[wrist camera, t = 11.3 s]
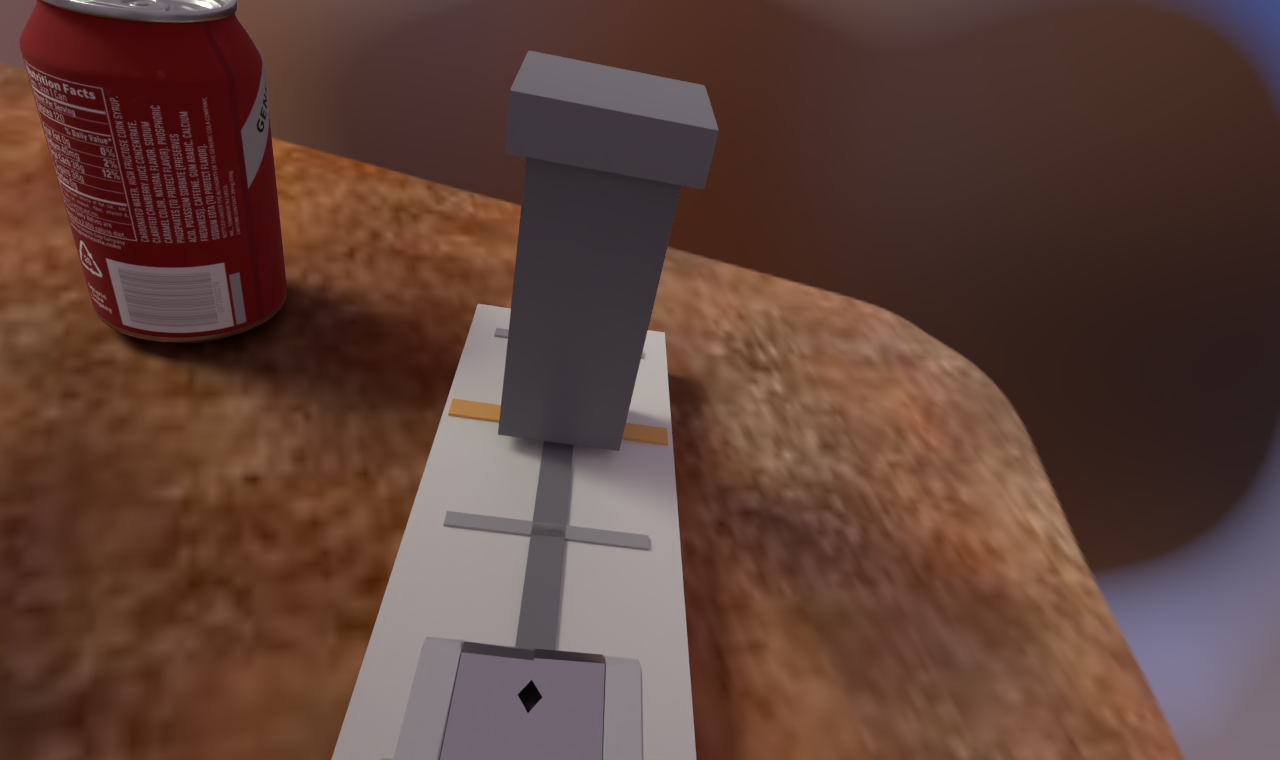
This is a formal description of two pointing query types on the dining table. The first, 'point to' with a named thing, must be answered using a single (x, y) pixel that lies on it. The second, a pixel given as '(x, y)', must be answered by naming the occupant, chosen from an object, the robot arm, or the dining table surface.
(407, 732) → the robot arm
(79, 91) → the soda can
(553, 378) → the slider knob
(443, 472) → the slider box
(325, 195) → the dining table surface
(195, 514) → the dining table surface
